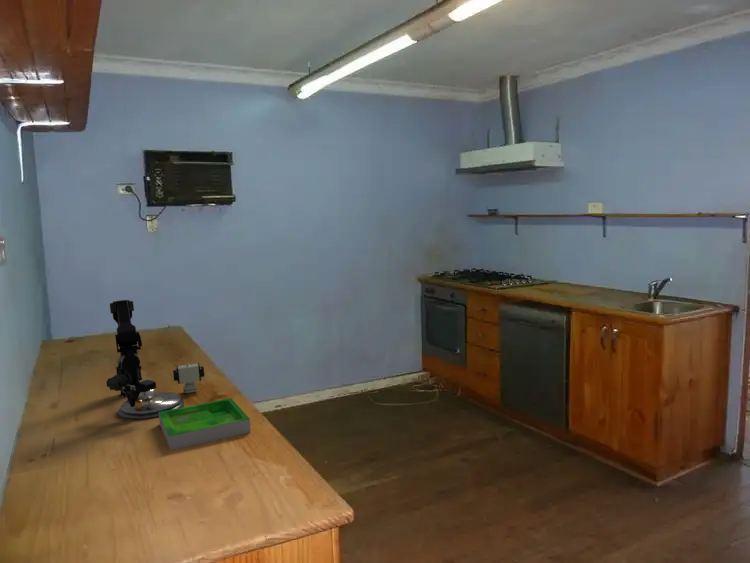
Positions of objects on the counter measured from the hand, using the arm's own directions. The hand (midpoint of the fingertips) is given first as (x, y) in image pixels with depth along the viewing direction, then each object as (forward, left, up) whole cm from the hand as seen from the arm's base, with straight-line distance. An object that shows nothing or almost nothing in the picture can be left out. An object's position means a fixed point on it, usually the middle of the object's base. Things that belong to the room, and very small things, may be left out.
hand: (132, 406), depth 204 cm
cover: (-1, +13, -1) cm, 13 cm away
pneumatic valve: (+11, +27, -4) cm, 30 cm away
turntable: (+3, +9, -3) cm, 9 cm away
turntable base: (+3, +9, -4) cm, 10 cm away
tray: (+30, -13, -5) cm, 33 cm away
